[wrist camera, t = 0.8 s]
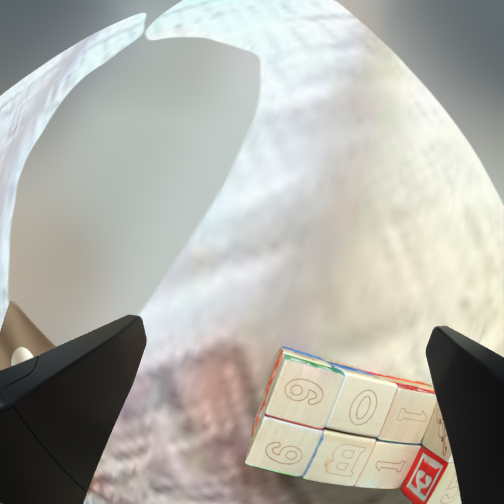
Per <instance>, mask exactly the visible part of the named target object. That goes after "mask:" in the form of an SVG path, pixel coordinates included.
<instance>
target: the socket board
mask: <svg viewBox="0 0 504 504" xmlns="http://www.w3.org/2000/svg"><path fill="white" fill-rule="evenodd" d="M55 347H56V346H55V345H54V344H53V343H52V342H51V341H50V340H49V339H48V338H47V337H46V336H45V335H44V334H43V333H42V332H41V331H40V330H39V329H38V328H37V327H36V326H35V324H33V322H32V321H31V320H30V319H29V318H28V317H27V316H26V314H25V313H24V312H23V311H22V310H21V309H20V307H19V306H18V305H17V304H16V303H15V302H12V301H10V304H9V307H8V309H7V312H6V315H5V318H4V321H3V325H2V328H1V331H0V370H3V369H5V368H8V367H11V366H13V365H16V364H18V363H21V362H23V361H26V360H28V359H30V358H33V357H35V356H37V355H40V354H42V353H44V352H46V351H48V350H51V349H53V348H55Z"/></svg>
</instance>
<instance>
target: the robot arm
mask: <svg viewBox="0 0 504 504" xmlns="http://www.w3.org/2000/svg"><path fill="white" fill-rule="evenodd" d="M145 347H146V334H145V330H144V325H143V321H142V318H141V317H140V316H135V315H127V316H125V317H122V318H120V319H118V320H115V321H113V322H111V323H109V324H107V325H104V326H102V327H100V328H98V329H95V330H93V331H92V332H89V333H87V334H84V335H82V336H80V337H78V338H76V339H73V340H71V341H69V342H66V343H64V344H62V345H60V346H57V347H55V348H53V349H51V350H48V351H46V352H44V353H42V354H40V355H37V356H35V357H33V358H30V359H28V360H26V361H23V362H21V363H18V364H16V365H13V366H11V367H8V368H5V369H3V370H0V504H83V502H84V500H85V497H86V494H87V493H86V492H87V491H88V489H89V486H90V483H91V481H92V478H93V476H94V473H95V471H96V468H97V466H98V463H99V461H100V458H101V456H102V453H103V451H104V449H105V446H106V444H107V442H108V439H109V437H110V434H111V432H112V430H113V427H114V425H115V423H116V421H117V418H118V416H119V414H120V412H121V409H122V407H123V405H124V403H125V400H126V398H127V396H128V394H129V392H130V389H131V387H132V385H133V382H134V379H135V376H136V373H137V370H138V367H139V364H140V361H141V358H142V355H143V352H144V349H145ZM426 357H427V361H428V365H429V369H430V374H431V378H432V383H433V387H434V391H435V395H436V399H437V402H438V405H439V408H440V412H441V415H442V418H443V422H444V425H445V429H446V433H447V437H448V440H449V444H450V448H451V453H452V457H453V461H454V466H455V471H456V476H457V481H458V486H459V492H460V498H461V502H462V503H461V504H504V357H502V356H500V355H499V354H497V353H495V352H493V351H491V350H490V349H488V348H486V347H484V346H482V345H481V344H479V343H477V342H475V341H473V340H471V339H470V338H468V337H466V336H464V335H462V334H460V333H459V332H457V331H455V330H453V329H451V328H449V327H448V326H436V327H435V328H434V329H433V331H432V334H431V336H430V339H429V342H428V345H427V347H426Z"/></svg>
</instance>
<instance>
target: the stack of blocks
mask: <svg viewBox="0 0 504 504" xmlns="http://www.w3.org/2000/svg"><path fill="white" fill-rule="evenodd" d="M245 463H246V464H248V465H250V466H253V467H257V468H261V469H265V470H269V471H273V472H277V473H281V474H285V475H291V476H295V477H302V478H303V479H306V480H311V481H317V482H322V483H329V484H337V485H344V486H355V487H360V488H374V489H395V488H399V487H400V489H401V491H402V492H403V494H404V495H405V496H406V497H407V498H408V499H409V500H410V501H411V502H412V503H413V504H461V503H462V502H461V498H460V492H459V486H458V481H457V476H456V471H455V466H454V461H453V457H452V453H451V448H450V444H449V440H448V437H447V433H446V429H445V425H444V422H443V418H442V415H441V412H440V408H439V405H438V402H437V399H436V395H435V391H434V387H433V384H430V383H426V382H421V381H415V382H413V381H409V380H404V379H400V378H395V377H391V376H383V375H380V374H376V373H372V372H367V371H364V370H361V369H359V368H356V367H354V366H351V365H347V364H344V363H340V362H337V361H333V360H329V359H326V358H323V357H317V356H313V355H310V354H307V353H303V352H300V351H297V350H293V349H290V348H287V347H284V346H281V348H280V351H279V354H278V357H277V360H276V362H275V365H274V368H273V371H272V373H271V376H270V379H269V382H268V384H267V386H266V389H265V391H264V394H263V396H262V399H261V402H260V405H259V407H258V411H257V414H256V417H255V423H254V426H253V431H252V436H251V441H250V444H249V448H248V452H247V456H246V461H245Z"/></svg>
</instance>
